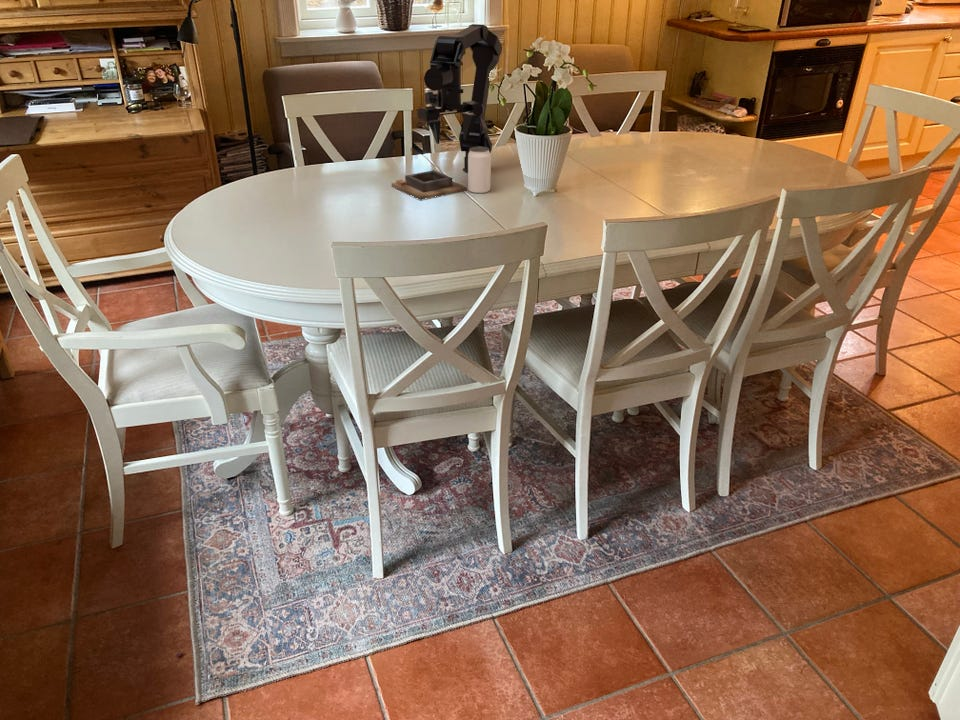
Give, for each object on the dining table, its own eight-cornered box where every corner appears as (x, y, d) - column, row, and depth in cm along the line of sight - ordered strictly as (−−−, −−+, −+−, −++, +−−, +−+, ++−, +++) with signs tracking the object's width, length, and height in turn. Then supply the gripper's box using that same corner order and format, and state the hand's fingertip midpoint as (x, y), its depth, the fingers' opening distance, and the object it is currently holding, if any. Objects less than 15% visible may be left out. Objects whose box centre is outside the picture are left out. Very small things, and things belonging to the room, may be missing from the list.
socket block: (437, 177, 231) (437, 166, 229) (466, 190, 219) (466, 178, 218) (391, 186, 223) (391, 174, 221) (420, 200, 211) (419, 188, 210)
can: (474, 195, 216) (474, 153, 210) (464, 189, 221) (464, 147, 215) (494, 191, 218) (494, 150, 212) (483, 186, 223) (484, 145, 217)
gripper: (463, 77, 219) (464, 131, 227) (407, 83, 211) (409, 140, 218) (484, 83, 211) (484, 139, 219) (426, 89, 202) (428, 148, 210)
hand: (451, 141), depth 217 cm, fingers open, 9 cm apart
